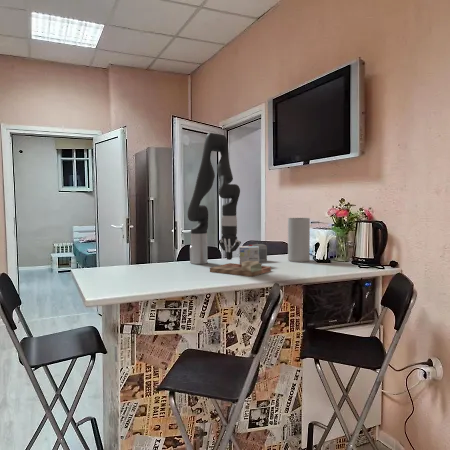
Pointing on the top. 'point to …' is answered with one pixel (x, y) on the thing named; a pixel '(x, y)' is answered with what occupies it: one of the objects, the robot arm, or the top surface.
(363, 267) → the top surface
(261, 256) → the cassette player
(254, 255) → the light bulb box
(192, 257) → the robot arm
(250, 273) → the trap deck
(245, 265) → the birch block
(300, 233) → the cylinder vase
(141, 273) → the top surface
